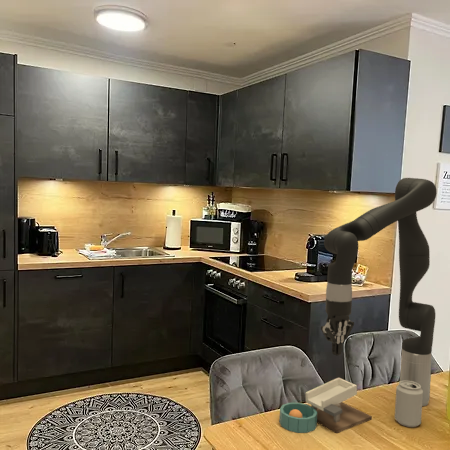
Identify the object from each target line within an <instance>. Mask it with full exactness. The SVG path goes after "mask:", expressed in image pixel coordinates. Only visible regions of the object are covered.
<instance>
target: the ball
mask: <svg viewBox="0 0 450 450" xmlns="http://www.w3.org/2000/svg"><path fill="white" fill-rule="evenodd" d="M289 415H290V416H293V417H297V418H302V413H301V412H300V411H299V410H297V409H294V410H292V411H290V413H289Z"/></svg>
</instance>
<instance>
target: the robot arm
mask: <svg viewBox="0 0 450 450" xmlns="http://www.w3.org/2000/svg"><path fill="white" fill-rule="evenodd" d="M436 198H437V187H436V184H435V183H434V182H433V181H431V180H429V179H426V178H416V177H415V178H414V177H403V178H402V179H401V178H400V180H399V181H397V184H396V186H395V190H394V199H395V200H394V201H391V202H388V203H385V204H382V205H380V206H377V207H373V208H371V209H369V210H368V211H366V212H363V214H361V215H360V216H358V217H356V218H355V219H354V220H352V221H350V222H347V223H344V224H342V225H340V226H337V227H335V228H333V229H331V230H330V231H329V232H328V233H327V234H326V236H325V237H324V241H323V244H324V248H325V249H326V251H327V252H329V253H332V254H334V255H336V258H335V260H334V262H331V263H329V264H328V267H327V281H326V283H327V284H326V289H325V313H326V314H327V317H326V321H325V322H326V323H325V325H321V326H320V330H321V332H322V334H323V335H324V337H325V339H326V340H327V342H330V343H331V345H332V346H331V353H332V354H333V355H334V356H337V357H338V356H341V355H342V352H343V343H344V341H345V340H348V338H349V336H350V334H351V332H352V329H353V328H354V325H355V322H354V321H351V320H350V315H351V314H352V307H353V306H352V305H353V304H352V302H353V287H352V286H353V285H352V283H353V282H352V281H353V269H354V265H355V262H356V259H357V255H358V251H359V242H364V241H367V240H369V239H370V238H372V237H373V236H375V235H376V234H378V233H380V231H382V230H384V229H386V228H387V227H390V226H391V225H392V224H394V223H396V222H397V226H398V256H399V257H398V259H399V260H398V263H399V284H400V285H399V301H398V302H399V303H398V322H399V324H400V326H401V328H404V329H407V330H413V331H417V332H420V334H419V336H416V337H409V338H405V339H403V340H402V344H401V358H400V359H401V362H400V374H399V375H400V376H399V377H400V378H399V382H400V381H404V380H406V381H413V382H416V383H418V384H420V386H421V389H422V390H423V399H422V407H425V406H428V405H429V402H430V396H431V394H430V393H431V382H432V381H431V379H432V373H431V368H432V367H431V366H432V354H433V353H432V351H433V343H434V342H433V341H434V334H435V332H434V331H435V325H436V324H435V323H436V309H435V307H434V305H431V304H427V303H421V302H416V301H413V295H414V294H413V293H414V291H415V289H416V287H417V286H418V284H419V283H420V282H421V281H422V279H423V278H424V276H425V275H426V273H428V270H429V269H430V261H431V260H430V252H431V251H430V245H429V242H428V240H427V238H426V235H425V233H424V231H423V230H422V228H421V226H420V224H419V221H418V220H419V219H418V214H417V212H420V211H421V210H425V209H427V208H428V207H430V206H431V205H432V204H434V202H435V200H436Z"/></svg>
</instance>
